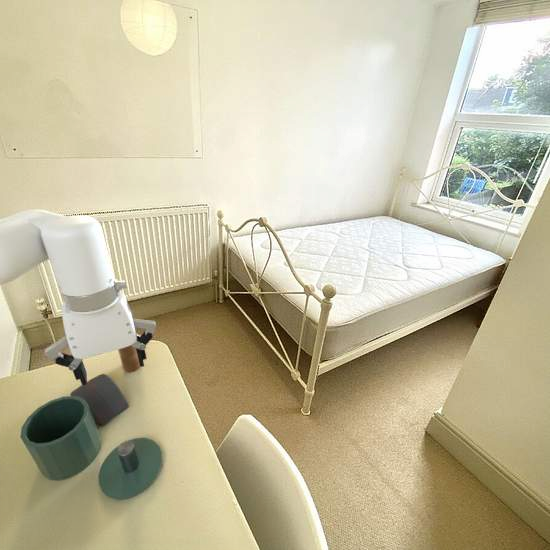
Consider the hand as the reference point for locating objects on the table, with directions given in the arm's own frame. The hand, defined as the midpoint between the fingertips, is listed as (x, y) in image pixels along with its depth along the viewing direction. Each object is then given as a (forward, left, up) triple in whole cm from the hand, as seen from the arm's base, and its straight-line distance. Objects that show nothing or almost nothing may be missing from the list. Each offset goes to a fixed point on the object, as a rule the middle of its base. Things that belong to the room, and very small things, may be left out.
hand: (114, 370), depth 58 cm
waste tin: (-11, 0, -18) cm, 21 cm away
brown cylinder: (+3, +19, -18) cm, 27 cm away
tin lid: (-1, -9, -17) cm, 19 cm away
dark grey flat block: (-5, +11, -18) cm, 22 cm away
